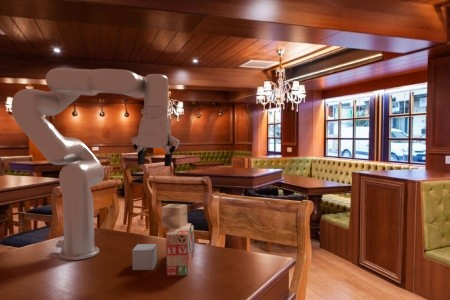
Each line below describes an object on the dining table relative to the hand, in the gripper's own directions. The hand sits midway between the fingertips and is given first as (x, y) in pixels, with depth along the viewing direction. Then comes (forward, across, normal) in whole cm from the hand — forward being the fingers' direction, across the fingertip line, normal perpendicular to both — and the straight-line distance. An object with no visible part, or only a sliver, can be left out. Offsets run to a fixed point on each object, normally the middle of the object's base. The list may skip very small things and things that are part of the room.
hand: (154, 165), depth 113 cm
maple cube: (+18, +10, -3) cm, 21 cm away
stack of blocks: (+30, +12, -2) cm, 33 cm away
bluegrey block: (+31, +2, -8) cm, 32 cm away
